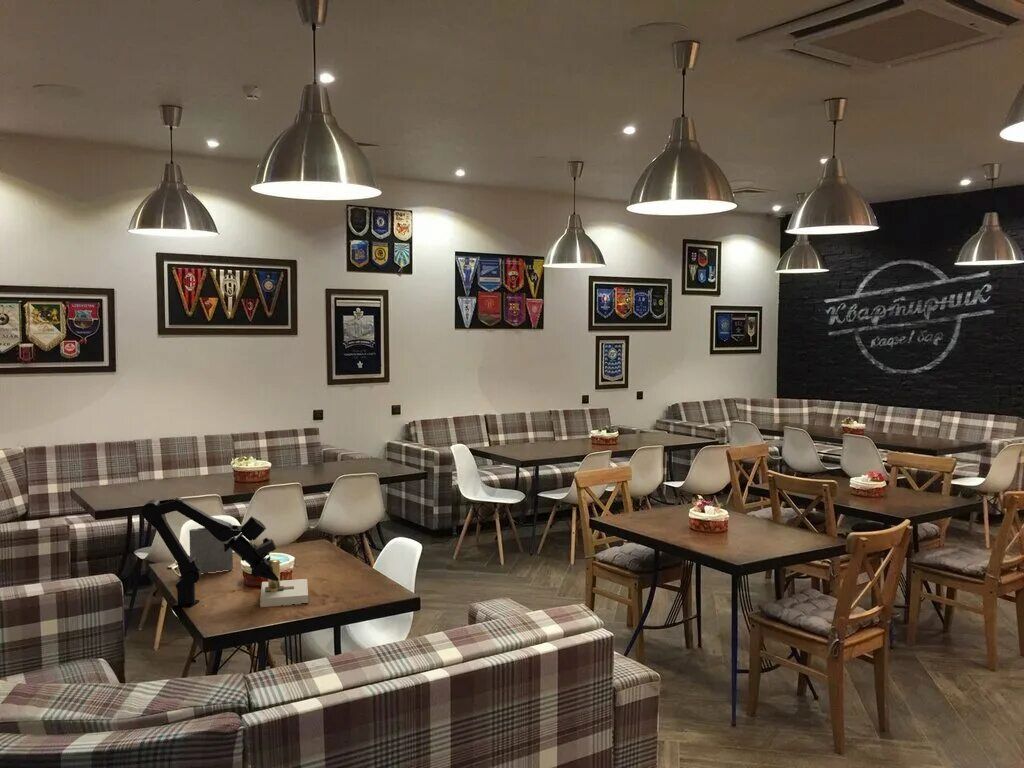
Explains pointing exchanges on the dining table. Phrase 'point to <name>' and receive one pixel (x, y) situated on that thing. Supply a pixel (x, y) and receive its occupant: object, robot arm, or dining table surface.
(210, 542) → the hip flask
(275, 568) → the brass peg
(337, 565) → the dining table surface
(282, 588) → the keyhole plate
